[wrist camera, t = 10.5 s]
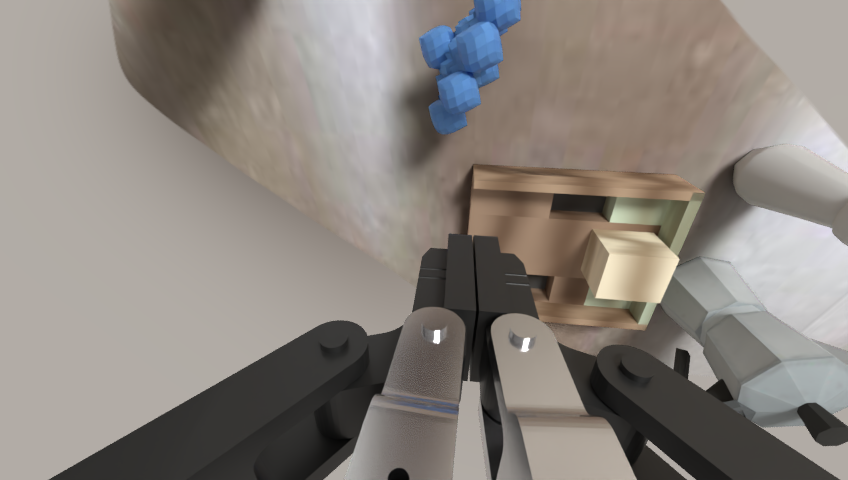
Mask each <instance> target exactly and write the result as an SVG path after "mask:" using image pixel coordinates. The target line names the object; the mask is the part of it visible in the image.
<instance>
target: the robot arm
mask: <svg viewBox="0 0 848 480" xmlns="http://www.w3.org/2000/svg"><path fill="white" fill-rule="evenodd" d="M469 364H470V381H474V382H480V401H479V407H478V413H479V422H480V428H481V429H480V430H481V437H482V445H483V453H484V460H485V468H486V476H487V480H686V479H685V478H684V477H683V476H682V475H681V474H679V473H678V472H677V471H676V470H675V469H673V468H672V467H671V466H670V465H669V464H668V463H666V462H665V461H664V460H663V459H662V458H660V457H659V456H658V455H657V454H656V453H655V452H654V451H652V450H651V449H650V448H648V446H646V443H647V441H648V440H649V441H651V442H652V443H653V444H654V445H655V446H657V447H658V448H659V449H660V450H662V451H663V452H664V453H665V454H666V455H667V456H669V457H670V458H671V459H672V460H673V461H675V462H676V463H677V464H678V465H680V466H681V467H682V468H683V469H685V471H686V472H688V473H689V474H690V475H691V476H692V477H694V478H695V479H696V480H839V479H838V478H836V477H835V476H833V475H832V474H830V473H829V472H827V471H826V470H824V469H823V468H821V467H820V466H818V465H817V464H815V463H814V462H812V461H811V460H809V459H808V458H806V457H805V456H803V455H802V454H800V453H798V452H797V451H796V450H794V449H792V448H791V447H789V446H788V445H786V444H785V443H783V442H782V441H780V440H779V439H777V438H776V437H774V436H773V435H771V434H770V433H768V432H767V431H765V430H764V429H762V428H760V427H759V426H757V425H756V424H755V423H753V422H752V421H750V420H749V419H747V418H746V417H744V416H742V415H741V414H739V413H738V412H736V411H735V410H733V409H732V408H730V407H729V406H727V405H726V404H724V403H723V402H721V401H720V400H718V399H717V398H715V397H714V396H712V395H711V394H709V393H708V392H706V391H705V390H703V389H701V388H700V387H698V386H697V385H695V384H694V383H692V382H691V381H689V380H688V379H686V378H685V377H683V376H682V375H680V374H679V373H677V372H676V371H674V370H673V369H671V368H670V367H668V366H667V365H665V364H664V363H662V362H661V361H659V360H658V359H656V358H654V357H653V356H651V355H650V354H648V353H646V352H644V351H642V350H639V349H637V348H634V347H630V346H625V345H611V346H607V347H605V348H603V349H602V350H601V351H600V352H599V354H598V356H597V357H595V356H592V355H589V354H586V353H583V352H580V351H577V350H574V349H571V348H568V347H566V346H564V345H562V344H560V343H559V342H557V341H556V338H555V336H554V334H553V332H552V331H551V330H550V328H549V327H548V326H547V325H546V324H544V323H543V322H542V321H540V320H539V316H538V313H537V309H536V306H535V302H534V298H533V295H532V291H531V288H530V286H529V281H528V277H527V273H526V270H525V266H524V263H523V262H522V261H521V260H520V259H519V258H518V257H517V256H516V255H515V254H512V253H501V251H500V246H499V241H498V237H495V236H479V235H474V236H473V242H472V235H463V234H449V238H448V249H438V248H430V249H429V250H428V251H427V252H426V253H425V254H424V255H423V256H422V261H421V267H420V272H419V278H418V283H417V289H416V294H415V300H414V305H413V311H412V313H411V314H410V315H409V316H408V317H407V318H406V320H405V322H404V325H402V326H401V327H399V328H397V329H396V330H393V331H390V332H387V333H382V334H376V335H370V336H367V334H366V332H365V331H364V329H363V328H362V327H361V326H359V325H358V324H355V323H353V322H350V321H331V322H327V323H324V324H321V325H319V326H317V327H315V328H314V329H312V330H310V331H309V332H307V333H305V334H303V335H301V336H300V337H298V338H296V339H294V340H293V341H291V342H289V343H287V344H286V345H284V346H282V347H280V348H279V349H277V350H275V351H273V352H272V353H270V354H268V355H267V356H265V357H263V358H261V359H259V360H258V361H256V362H254V363H252V364H251V365H249V366H248V367H245V368H244V369H242V370H240V371H238V372H237V373H235V374H233V375H231V376H230V377H228V378H226V379H224V380H223V381H221V382H219V383H217V384H216V385H214V386H212V387H210V388H209V389H207V390H205V391H203V392H201V393H200V394H198V395H196V396H194V397H193V398H191V399H189V400H187V401H186V402H184V403H182V404H180V405H179V406H177V407H175V408H173V409H172V410H170V411H168V412H166V413H165V414H163V415H161V416H160V417H158V418H156V419H154V420H153V421H151V422H149V423H147V424H146V425H144V426H142V427H140V428H138V429H137V430H135V431H133V432H131V433H130V434H128V435H126V436H125V437H123V438H121V439H119V440H117V441H116V442H114V443H112V444H110V445H109V446H107V447H105V448H104V449H102V450H100V451H98V452H96V453H95V454H93V455H91V456H89V457H88V458H86V459H84V460H82V461H81V462H79V463H77V464H76V465H74V466H72V467H70V468H68V469H67V470H65V471H63V472H61V473H60V474H58V475H56V476H54V477H53V478H51V479H49V480H323V479H324V478H326V477H327V476H328V475H329V474H330V473H331V472H332V471H333V470H335V469H336V468H337V467H338V466H339V465H340V464H341V463H342V462H343V461H345V460H346V459H347V458H348V457H349V456H350V455H351V454H352V453H353V455H352V459H351V461H350V464H349V467H348V470H347V473H346V476H345V479H344V480H452V478H453V467H454V455H455V445H456V433H457V423H458V411H459V402H460V399H461V391H462V383H463V381H467V379H468V371H469Z"/></svg>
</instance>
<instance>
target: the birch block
mask: <svg viewBox="0 0 848 480" xmlns="http://www.w3.org/2000/svg"><path fill="white" fill-rule="evenodd" d="M679 260H680V259H679V258H678V257H677V256H676V255H675V254H674V253H673V252H672V251H671V250H670V249H669V248H668V247H667V246H666V245H665V244H664V243H663V242H662V241H661V240H660V239H659V238H658V237H657V236H656V235H655V234H654V233H649V232H634V231H619V230H604V229H592V231H591V235H590V238H589V242H588V245H587V249H586V252H585V256H584V259H583V263H582V266H581V271H582V273H583V275H584V277H585V279H586V281H587V283H588V285H589V287H590V289H591V291H592V293H593V295H594V297H595V298H601V299H613V300H625V301H638V302H650V303H660V302H661V300H662V298H663V295H664V293H665V291H666V289H667V287H668V284H669V282H670V280H671V278H672V275H673V273H674V271H675V269H676V266H677V264H678V262H679Z"/></svg>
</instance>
